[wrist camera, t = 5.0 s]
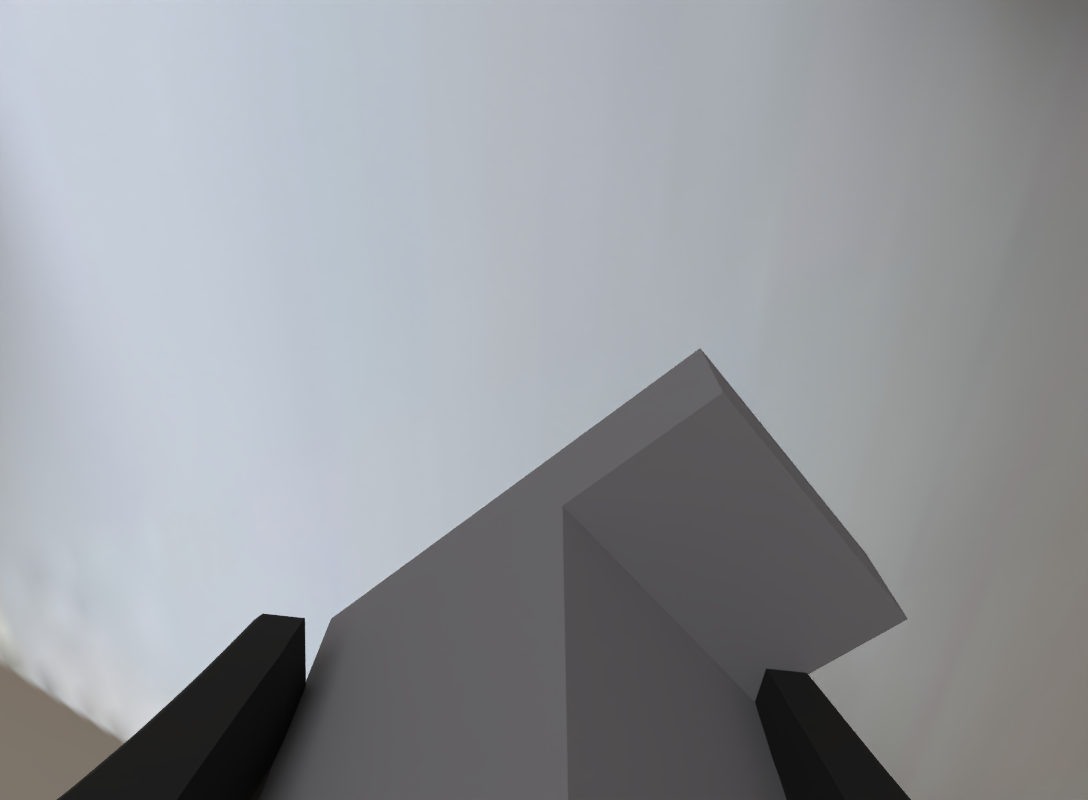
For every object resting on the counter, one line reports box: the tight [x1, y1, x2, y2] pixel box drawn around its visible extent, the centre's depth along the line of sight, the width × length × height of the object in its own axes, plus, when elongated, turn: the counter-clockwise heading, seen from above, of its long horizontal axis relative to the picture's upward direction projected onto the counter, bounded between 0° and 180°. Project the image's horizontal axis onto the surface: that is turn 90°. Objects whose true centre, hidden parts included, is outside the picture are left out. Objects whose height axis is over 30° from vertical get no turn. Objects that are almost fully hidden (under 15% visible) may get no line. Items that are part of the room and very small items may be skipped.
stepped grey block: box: [259, 349, 907, 800], centre depth 9 cm, size 4×8×6 cm, turn 130°
